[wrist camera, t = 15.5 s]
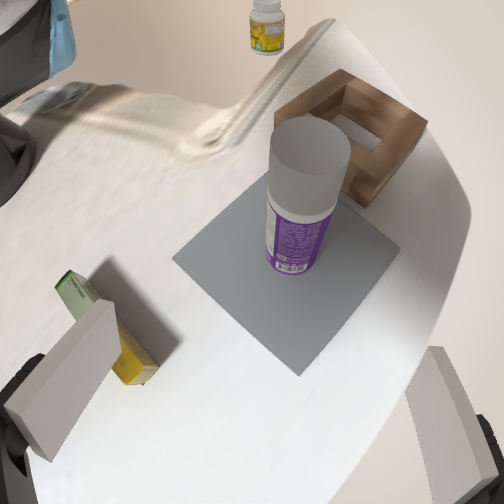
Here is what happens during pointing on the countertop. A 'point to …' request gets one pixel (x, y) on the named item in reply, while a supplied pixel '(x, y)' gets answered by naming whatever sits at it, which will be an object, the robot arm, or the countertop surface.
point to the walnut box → (369, 117)
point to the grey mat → (281, 287)
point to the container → (302, 190)
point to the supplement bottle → (267, 27)
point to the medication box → (133, 354)
